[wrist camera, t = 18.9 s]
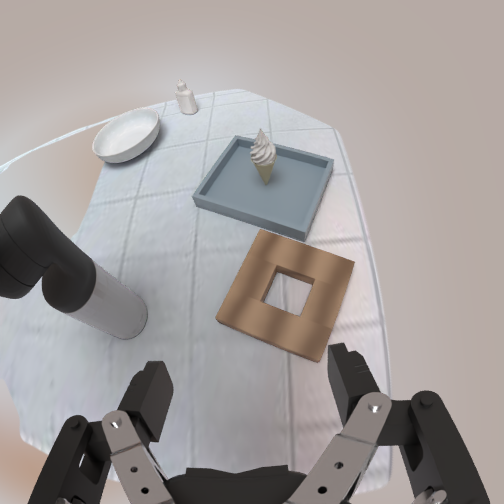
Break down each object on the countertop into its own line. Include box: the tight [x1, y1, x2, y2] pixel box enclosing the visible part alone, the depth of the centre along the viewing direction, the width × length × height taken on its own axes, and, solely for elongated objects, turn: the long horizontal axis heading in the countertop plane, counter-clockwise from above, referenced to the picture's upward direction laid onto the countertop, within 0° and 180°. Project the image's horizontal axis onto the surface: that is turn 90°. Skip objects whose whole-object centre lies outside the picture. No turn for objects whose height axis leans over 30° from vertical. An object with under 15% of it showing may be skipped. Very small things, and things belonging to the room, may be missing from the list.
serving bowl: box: [92, 108, 160, 163], centre depth 71 cm, size 21×21×7 cm
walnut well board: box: [215, 229, 355, 363], centre depth 48 cm, size 18×18×3 cm
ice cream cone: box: [250, 129, 277, 185], centre depth 53 cm, size 5×5×15 cm
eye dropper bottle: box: [176, 79, 198, 115], centre depth 73 cm, size 4×6×12 cm
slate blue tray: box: [192, 136, 334, 242], centre depth 59 cm, size 24×20×4 cm
